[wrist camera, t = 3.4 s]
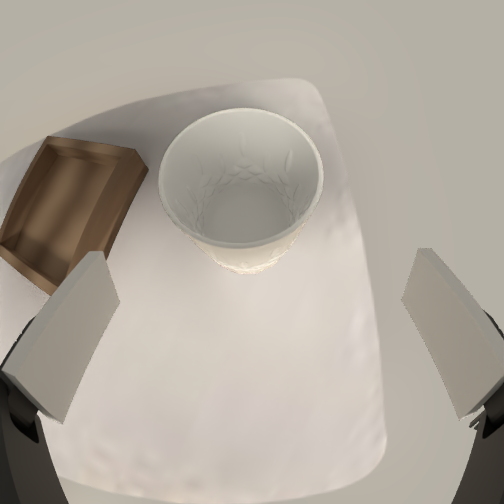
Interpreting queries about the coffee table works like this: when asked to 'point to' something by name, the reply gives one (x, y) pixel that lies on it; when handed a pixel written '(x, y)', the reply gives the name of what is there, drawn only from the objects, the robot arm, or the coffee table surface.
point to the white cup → (241, 185)
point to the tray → (68, 207)
